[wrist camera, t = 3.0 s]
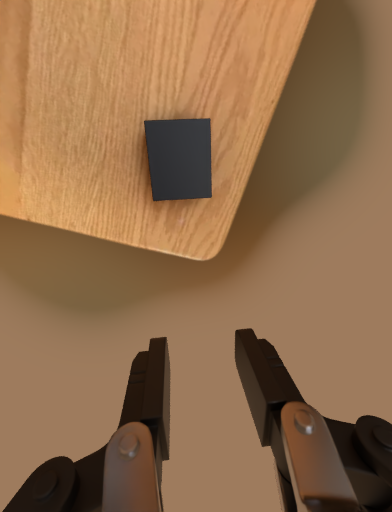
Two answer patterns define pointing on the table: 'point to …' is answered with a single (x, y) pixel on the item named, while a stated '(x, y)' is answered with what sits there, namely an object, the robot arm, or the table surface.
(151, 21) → the table surface
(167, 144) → the storage box
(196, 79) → the table surface
